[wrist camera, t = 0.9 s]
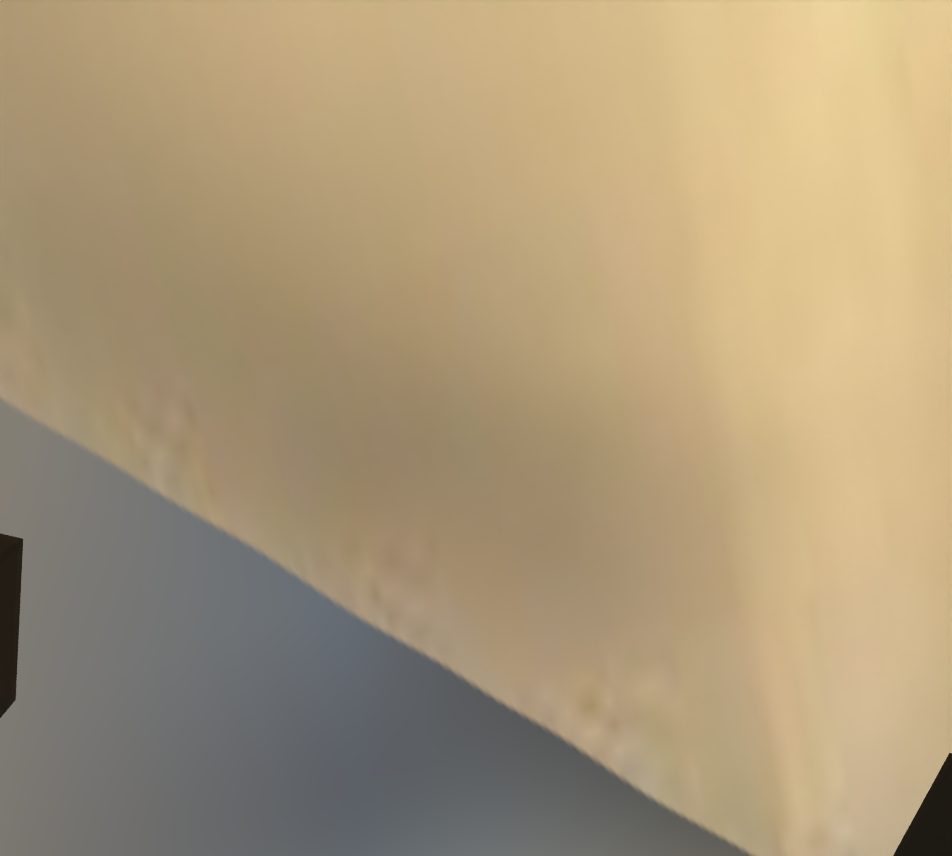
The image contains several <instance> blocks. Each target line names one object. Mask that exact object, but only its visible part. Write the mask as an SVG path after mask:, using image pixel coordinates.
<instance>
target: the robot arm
mask: <svg viewBox="0 0 952 856" xmlns="http://www.w3.org/2000/svg"><path fill="white" fill-rule="evenodd" d="M22 551H23V539H21V538H17V537H12V536H8V535H4V534H0V718H1V717H2V715H3V714H4V713H5V712H6V711H7V709H8V708H9V707H10V706H11V705H12V703H13V702H14V701H15V698H16V677H17V676H16V675H17V656H18V635H19V614H20V593H21V572H22V571H21V570H22ZM893 856H952V753H949V755H948V757H947V759H946V761H945V762H944V764H943V766H942V768H941V770H940V772H939V773H938V775H937V777H936V779H935V781H934V782H933V784H932V786H931V788H930V790H929V792H928V793H927V795H926V797H925V799H924V801H923V802H922V804H921V806H920V808H919V810H918V812H917V813H916V815H915V817H914V819H913V821H912V823H911V824H910V826H909V828H908V830H907V832H906V833H905V835H904V837H903V839H902V841H901V843H900V844H899V846H898V848H897V850H896V852H895V853H894V855H893Z"/></svg>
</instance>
